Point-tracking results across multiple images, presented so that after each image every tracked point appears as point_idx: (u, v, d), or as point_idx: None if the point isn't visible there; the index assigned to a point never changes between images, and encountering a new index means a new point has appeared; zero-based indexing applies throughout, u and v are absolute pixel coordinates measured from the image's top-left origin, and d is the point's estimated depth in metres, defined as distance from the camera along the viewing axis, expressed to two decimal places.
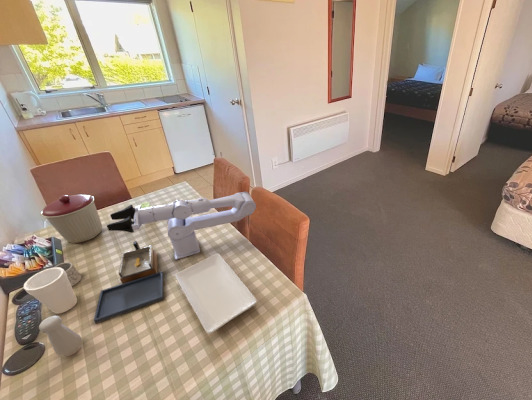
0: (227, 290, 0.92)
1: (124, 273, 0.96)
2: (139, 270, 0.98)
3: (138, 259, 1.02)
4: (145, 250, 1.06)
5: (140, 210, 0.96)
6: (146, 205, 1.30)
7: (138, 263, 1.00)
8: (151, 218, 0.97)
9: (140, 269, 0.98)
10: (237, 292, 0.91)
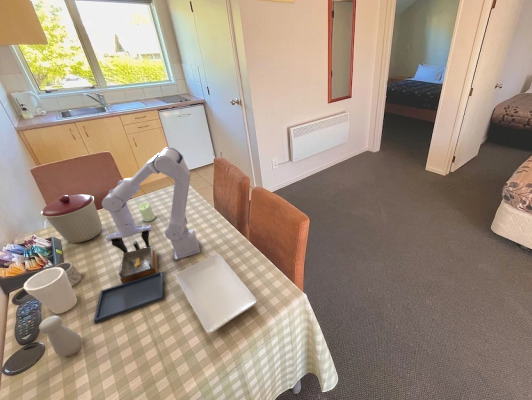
0: (227, 290, 0.92)
1: (124, 273, 0.96)
2: (139, 270, 0.98)
3: (138, 259, 1.02)
4: (145, 250, 1.06)
5: None
6: (146, 205, 1.30)
7: (138, 263, 1.00)
8: None
9: (140, 269, 0.98)
10: (237, 292, 0.91)
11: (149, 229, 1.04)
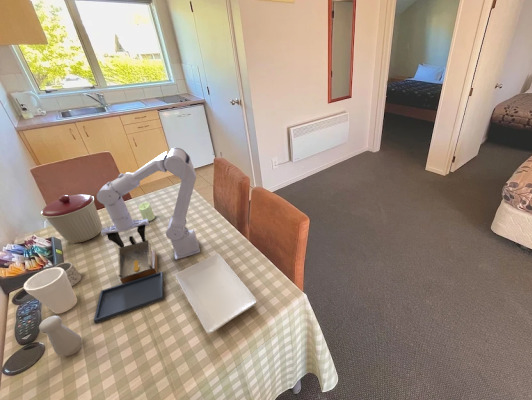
0: (227, 290, 0.92)
1: (123, 273, 0.96)
2: (139, 270, 0.97)
3: (136, 262, 0.99)
4: (142, 245, 1.04)
5: None
6: (146, 205, 1.30)
7: (137, 268, 0.97)
8: None
9: (140, 269, 0.98)
10: (237, 292, 0.91)
11: (146, 223, 1.01)
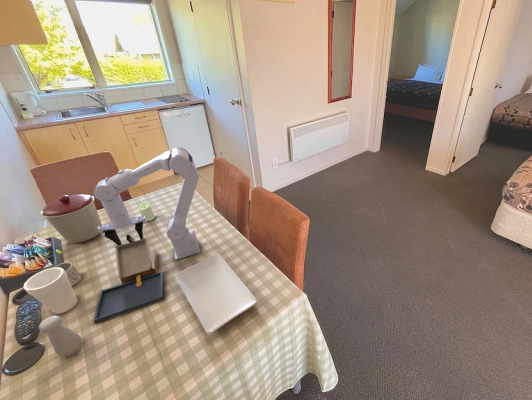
0: (227, 290, 0.92)
1: (123, 273, 0.96)
2: (139, 270, 0.97)
3: (139, 277, 0.97)
4: (139, 242, 1.01)
5: None
6: (146, 205, 1.30)
7: (140, 283, 0.95)
8: None
9: (139, 269, 0.97)
10: (237, 292, 0.91)
11: (143, 221, 0.99)
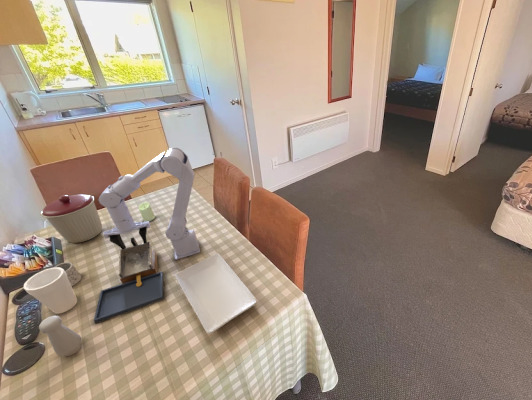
0: (227, 290, 0.92)
1: (124, 273, 0.96)
2: (139, 270, 0.97)
3: (139, 277, 0.97)
4: (143, 246, 1.05)
5: None
6: (146, 205, 1.30)
7: (140, 283, 0.95)
8: None
9: (140, 269, 0.98)
10: (237, 292, 0.91)
11: (147, 225, 1.02)
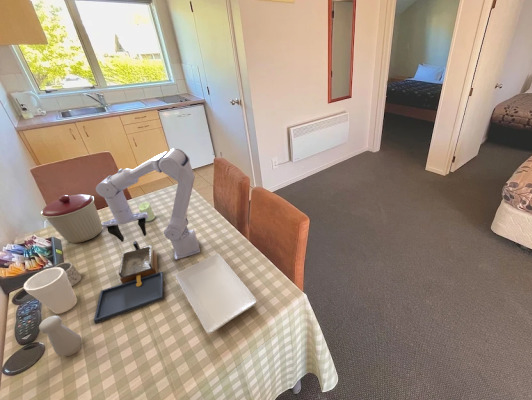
0: (227, 290, 0.92)
1: (124, 273, 0.96)
2: (139, 270, 0.98)
3: (139, 277, 0.97)
4: (145, 250, 1.06)
5: None
6: (146, 205, 1.30)
7: (140, 283, 0.95)
8: None
9: (140, 269, 0.98)
10: (237, 292, 0.91)
11: (145, 216, 1.03)
